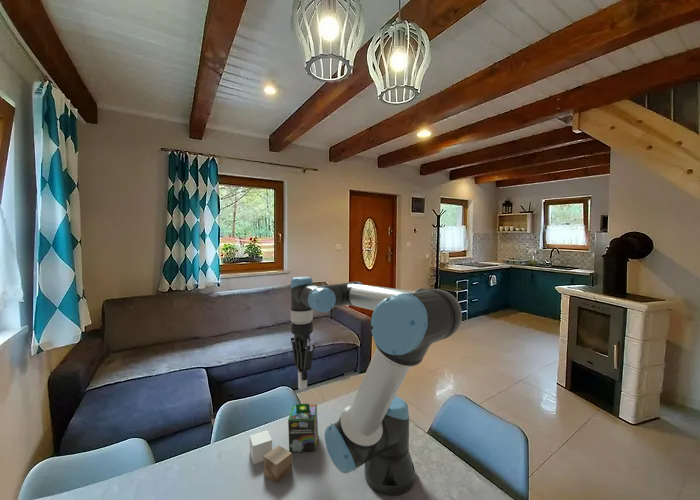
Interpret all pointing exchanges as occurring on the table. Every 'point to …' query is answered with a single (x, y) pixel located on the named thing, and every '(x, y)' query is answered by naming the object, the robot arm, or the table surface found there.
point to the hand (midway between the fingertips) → (302, 387)
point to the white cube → (260, 446)
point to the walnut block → (277, 464)
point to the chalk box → (303, 428)
